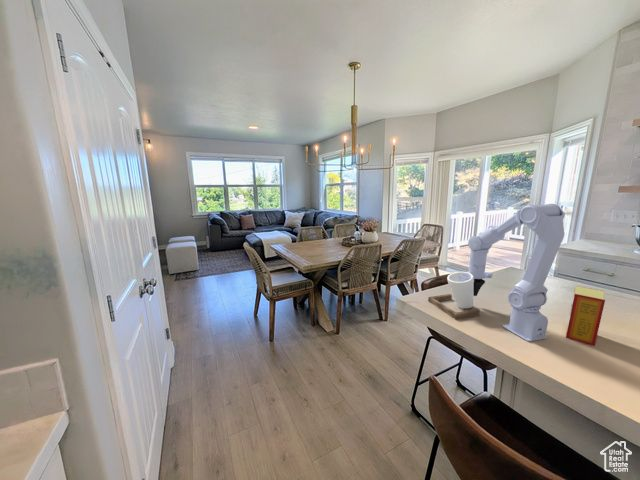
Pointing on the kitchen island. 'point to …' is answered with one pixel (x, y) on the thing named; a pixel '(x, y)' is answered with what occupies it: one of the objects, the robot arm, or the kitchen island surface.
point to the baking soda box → (585, 315)
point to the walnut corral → (455, 315)
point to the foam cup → (462, 289)
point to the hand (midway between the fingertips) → (473, 295)
